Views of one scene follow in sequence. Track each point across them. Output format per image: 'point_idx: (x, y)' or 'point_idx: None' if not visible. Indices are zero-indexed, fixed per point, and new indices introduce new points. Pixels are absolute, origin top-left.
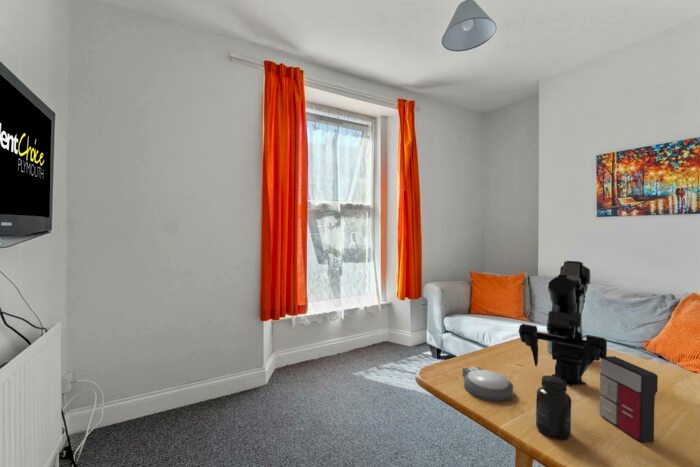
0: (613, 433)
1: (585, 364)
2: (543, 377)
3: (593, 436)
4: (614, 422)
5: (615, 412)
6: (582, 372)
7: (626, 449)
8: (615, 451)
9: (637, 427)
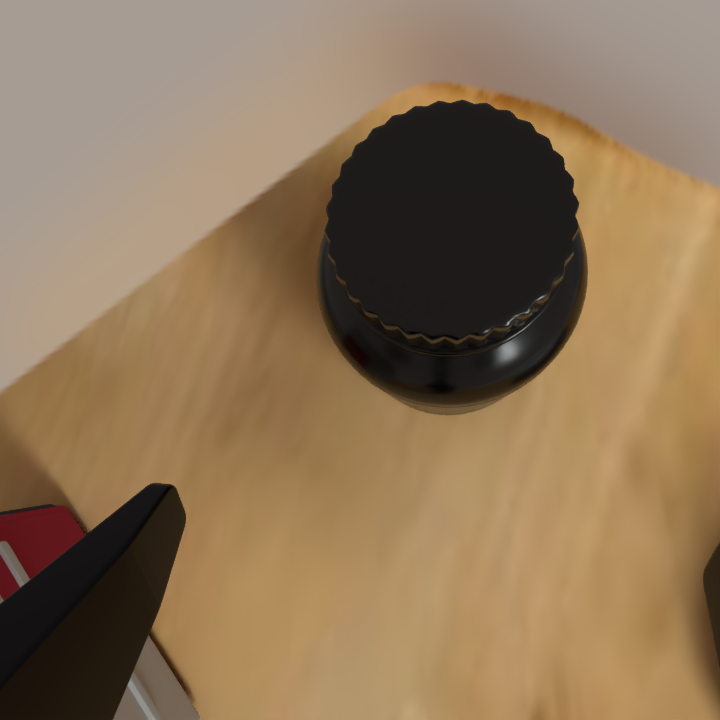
0: None
1: (6, 598)
2: (563, 195)
3: (258, 417)
4: None
5: None
6: (121, 507)
7: (134, 386)
8: (181, 333)
9: (19, 513)
